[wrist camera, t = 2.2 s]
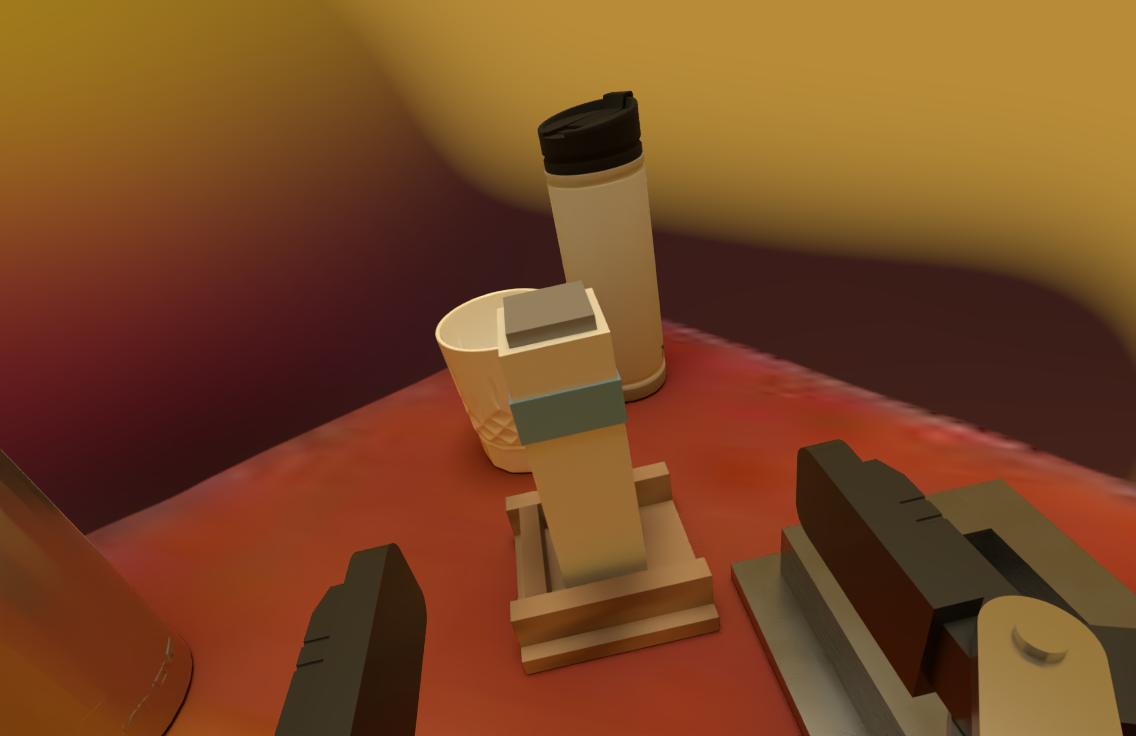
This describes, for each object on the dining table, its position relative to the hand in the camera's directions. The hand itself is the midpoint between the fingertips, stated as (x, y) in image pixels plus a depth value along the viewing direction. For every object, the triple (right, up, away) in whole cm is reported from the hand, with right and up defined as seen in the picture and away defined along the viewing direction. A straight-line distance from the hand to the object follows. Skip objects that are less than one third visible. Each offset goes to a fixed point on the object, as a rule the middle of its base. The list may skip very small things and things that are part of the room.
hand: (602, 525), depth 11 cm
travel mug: (+4, +2, +33) cm, 33 cm away
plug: (+1, -7, +17) cm, 19 cm away
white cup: (-3, -2, +28) cm, 29 cm away
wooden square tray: (+1, -8, +18) cm, 20 cm away
